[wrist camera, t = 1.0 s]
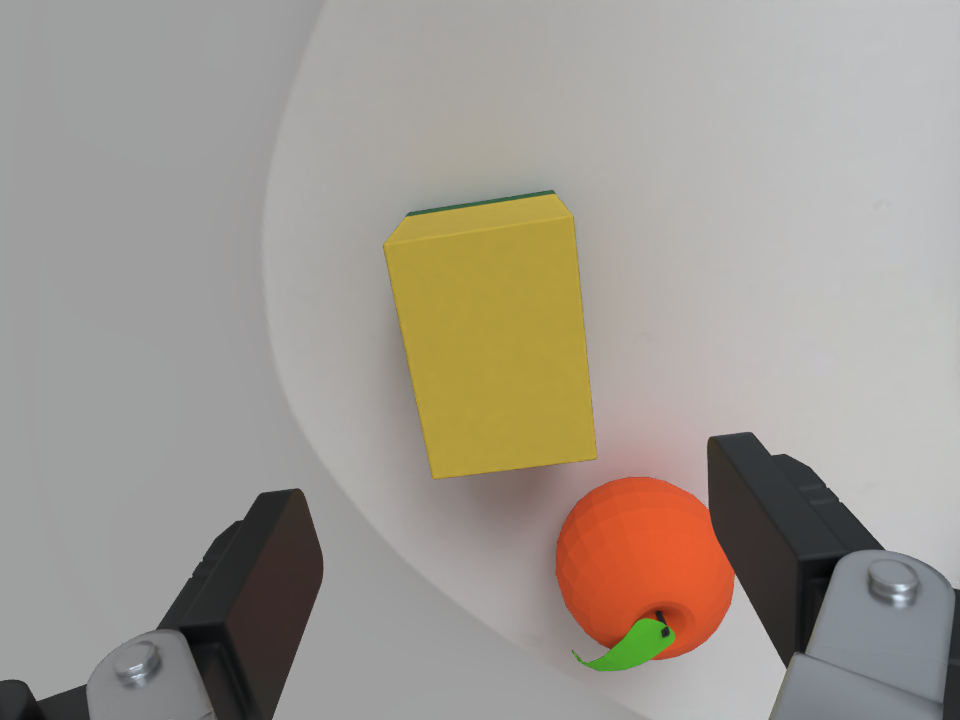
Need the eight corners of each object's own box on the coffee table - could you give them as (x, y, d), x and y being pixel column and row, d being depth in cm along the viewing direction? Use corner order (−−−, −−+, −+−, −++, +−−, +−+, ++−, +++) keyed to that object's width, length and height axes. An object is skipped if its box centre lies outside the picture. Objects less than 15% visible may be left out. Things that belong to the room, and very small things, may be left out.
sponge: (407, 212, 23) (382, 244, 18) (553, 189, 23) (573, 214, 17) (444, 402, 26) (432, 480, 21) (574, 385, 26) (597, 460, 20)
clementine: (616, 610, 30) (651, 749, 24) (503, 540, 29) (506, 667, 22) (734, 500, 28) (810, 621, 21) (617, 416, 26) (659, 518, 20)
